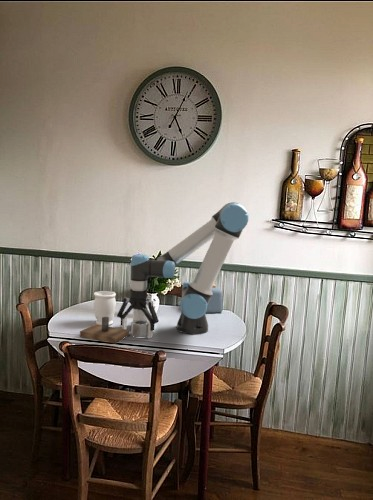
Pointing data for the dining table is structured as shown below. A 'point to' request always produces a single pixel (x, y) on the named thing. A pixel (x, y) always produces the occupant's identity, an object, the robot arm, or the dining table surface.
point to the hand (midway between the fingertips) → (136, 335)
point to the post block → (104, 332)
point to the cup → (139, 314)
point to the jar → (104, 305)
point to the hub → (139, 328)
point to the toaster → (215, 301)
